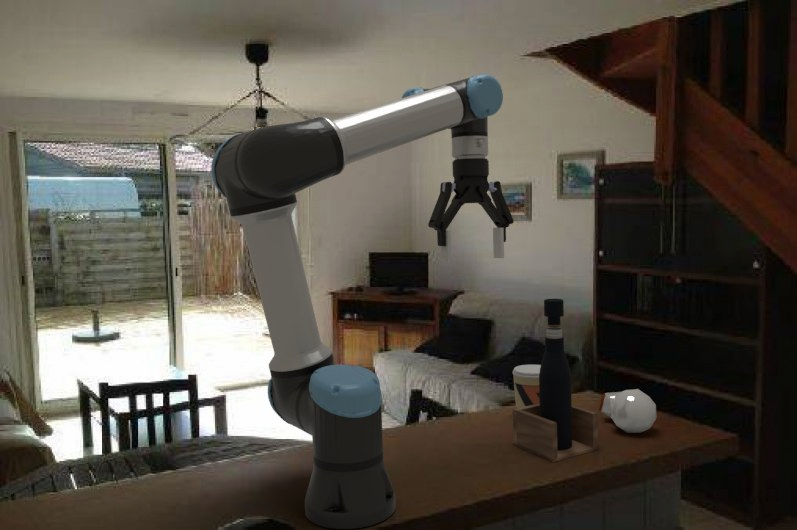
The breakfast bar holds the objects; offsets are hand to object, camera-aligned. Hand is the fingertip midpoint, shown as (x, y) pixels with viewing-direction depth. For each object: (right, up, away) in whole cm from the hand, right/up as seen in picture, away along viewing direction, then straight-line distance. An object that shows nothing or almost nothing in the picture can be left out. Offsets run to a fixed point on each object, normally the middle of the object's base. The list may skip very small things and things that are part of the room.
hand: (473, 260), depth 145 cm
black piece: (+17, -38, -4) cm, 42 cm away
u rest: (+16, -39, -3) cm, 42 cm away
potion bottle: (+35, -37, +7) cm, 51 cm away
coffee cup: (+16, -37, +16) cm, 43 cm away
